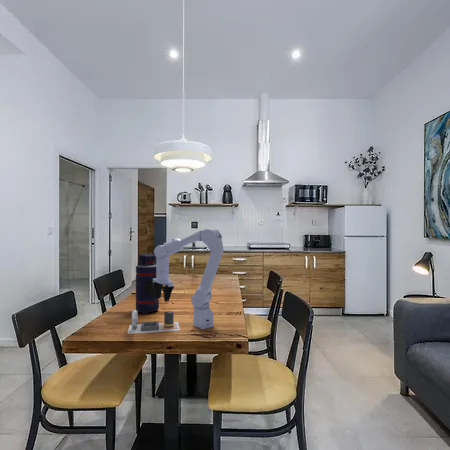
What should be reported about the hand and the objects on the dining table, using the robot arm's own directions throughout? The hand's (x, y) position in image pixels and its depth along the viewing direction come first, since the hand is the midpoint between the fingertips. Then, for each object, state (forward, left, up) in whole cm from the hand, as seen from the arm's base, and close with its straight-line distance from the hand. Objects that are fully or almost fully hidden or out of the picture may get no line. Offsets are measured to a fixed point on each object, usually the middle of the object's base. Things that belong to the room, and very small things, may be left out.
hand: (162, 299), depth 149 cm
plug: (-10, +1, -9) cm, 14 cm away
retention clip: (-10, +16, -9) cm, 21 cm away
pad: (-10, +1, -10) cm, 14 cm away
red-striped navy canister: (+23, 0, -11) cm, 25 cm away
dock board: (-8, +7, -10) cm, 15 cm away
